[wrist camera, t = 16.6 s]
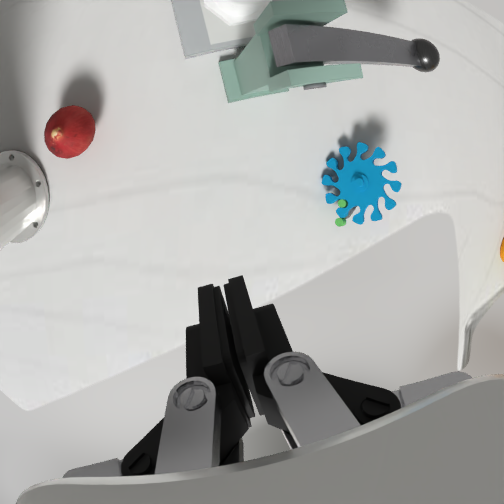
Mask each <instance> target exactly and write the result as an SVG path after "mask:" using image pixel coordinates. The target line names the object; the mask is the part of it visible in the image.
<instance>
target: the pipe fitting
mask: <svg viewBox="0 0 504 504" xmlns="http://www.w3.org/2000/svg"><path fill="white" fill-rule="evenodd" d="M270 1H272V0H204V7H205V8H207V9H208V10H209V11H211V12H212V13H213V14H215V15H216V16H217V17H219V18H220V19H221V20H223V21H224V22H225V23H226V24H228V25H229V26H234V25H238V24H243V23H248V22H252V21H256V20H257V19H258V17H259V16H260V15H261V13H262V12H263V10H264V9H265V8H266V6H267V5H268V4H269V2H270Z"/></svg>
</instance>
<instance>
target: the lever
mask: <svg viewBox="0 0 504 504" xmlns="http://www.w3.org/2000/svg"><path fill="white" fill-rule="evenodd" d="M268 34H269V38H270V42H271V46H272V50H273V54H274V58H275V62H276V67H286V66H300V65H319V64H355V63H360V64H377V65H395V66H408V67H413V68H415V69H416V70H418V71H421V72H430V71H432V70H434V69H435V68H436V67H437V66H438V64H439V61H440V56H439V52H438V50H437V48H436V47H435V46H434V45H433V44H432V43H431V42H429V41H428V40H425V39H414V40H412V41H408V40H404V39H399V38H395V37H390V36H385V35H380V34H374V33H369V32H363V31H356V30H349V29H341V28H333V27H323V26H311V25H294V24H285V25H282V26H280V27H277V28H275V29H273V30H270V31H268Z"/></svg>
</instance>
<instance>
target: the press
mask: <svg viewBox="0 0 504 504" xmlns="http://www.w3.org/2000/svg"><path fill="white" fill-rule="evenodd" d="M171 2H172V6H173V10H174V14H175V18H176V23H177V27H178V31H179V35H180V39H181V43H182V47H183V51H184V55H185V59H188V58H192V57H196V56H200V55H204V54H208V53H213V52H217V51H222V50H227V49H232V48H237V47H243V46H246V47H245V48H244V50H243V51H242V52H241V54H240V55H239V56H238V58H235V59H230V60H226V61H221V62H219V67H220V71H221V75H222V79H223V83H224V87H225V91H226V95H227V100H228V103H230V102H235V101H239V100H244V99H249V98H253V97H258V96H264V95H269V94H275V93H280V92H286V91H289V88H294V87H301V86H303V87H304V90H307V89H314V88H322V87H327V86H326V83H332V82H338V81H344V80H351V79H358V78H363V74H362V69H361V65H360V63H355V64H339V65H326V66H324V64H319V65H300V66H286V67H276V62H275V58H274V54H273V50H272V46H271V42H270V38H269V34H268V31H270V30H273V29H275V28H277V27H280V26H282V25H285V24H294V25H311V26H324V25H326V24H327V23H329V22H331V21H333V20H334V19H336V18H338V17H340V16H342V15H343V14H345V13H347V8H346V5H345V1H344V0H272V1H270V2H269V4H268V5H267V6H266V8H265V9H264V10H263V12H262V13H261V15H260V16H259V17H258V19H257V20H256V21H252V22H248V23H243V24H238V25H234V26H229V25H228V24H226V23H225V22H224V21H223V20H221V19H220V18H219V17H217V16H216V15H215V14H213V13H212V12H211V11H209V10H208V9H207V8H205V7H204V0H171Z"/></svg>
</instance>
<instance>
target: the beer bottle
mask: <svg viewBox="0 0 504 504" xmlns="http://www.w3.org/2000/svg"><path fill="white" fill-rule="evenodd" d="M500 256H501V259H502V261H503V262H504V239H503V241H502V245H501V249H500Z"/></svg>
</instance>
